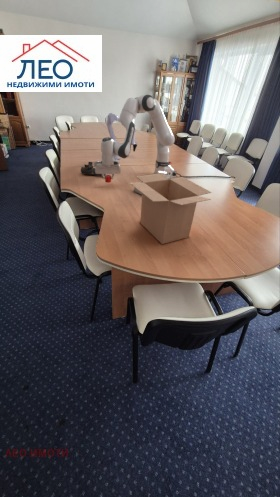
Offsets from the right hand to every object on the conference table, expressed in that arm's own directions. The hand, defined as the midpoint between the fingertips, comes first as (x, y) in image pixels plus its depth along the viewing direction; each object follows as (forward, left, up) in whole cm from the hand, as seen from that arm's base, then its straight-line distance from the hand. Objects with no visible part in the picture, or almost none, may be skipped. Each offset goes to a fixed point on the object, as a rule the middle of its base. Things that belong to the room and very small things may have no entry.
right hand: (108, 179), depth 178 cm
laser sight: (+4, -30, -6) cm, 31 cm away
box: (-7, +75, -6) cm, 75 cm away
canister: (0, 0, -2) cm, 2 cm away
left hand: (-56, -76, 0) cm, 95 cm away
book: (-29, +20, -6) cm, 36 cm away
